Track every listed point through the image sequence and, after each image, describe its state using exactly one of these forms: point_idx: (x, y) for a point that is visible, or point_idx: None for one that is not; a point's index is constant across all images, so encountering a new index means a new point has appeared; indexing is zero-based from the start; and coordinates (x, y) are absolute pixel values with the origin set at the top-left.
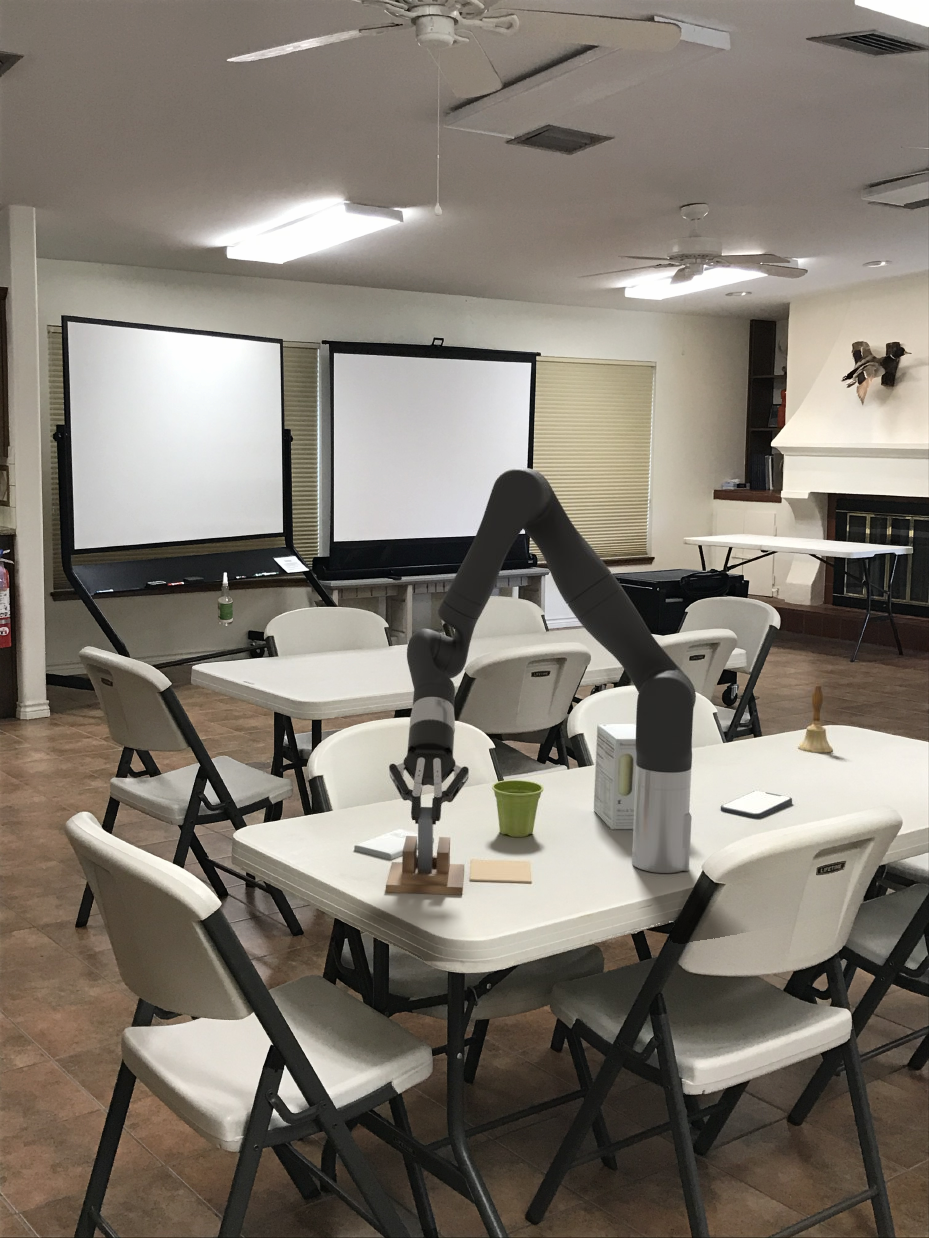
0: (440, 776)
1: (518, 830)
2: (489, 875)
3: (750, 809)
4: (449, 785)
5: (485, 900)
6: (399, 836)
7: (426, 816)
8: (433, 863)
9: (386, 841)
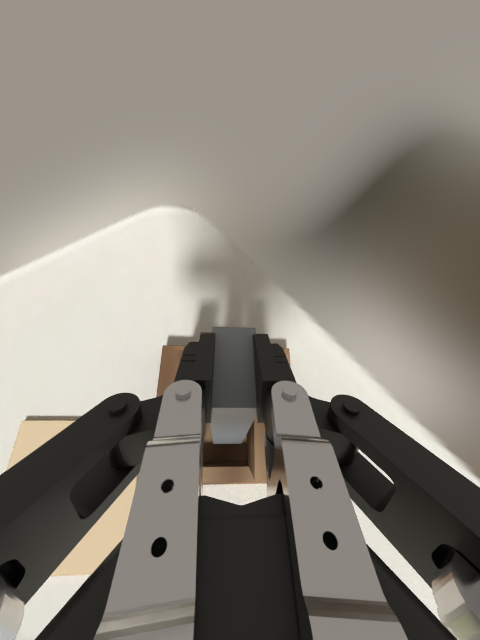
0: (142, 483)
1: None
2: None
3: None
4: (101, 442)
5: (131, 327)
6: None
7: (231, 347)
8: (212, 463)
9: None
